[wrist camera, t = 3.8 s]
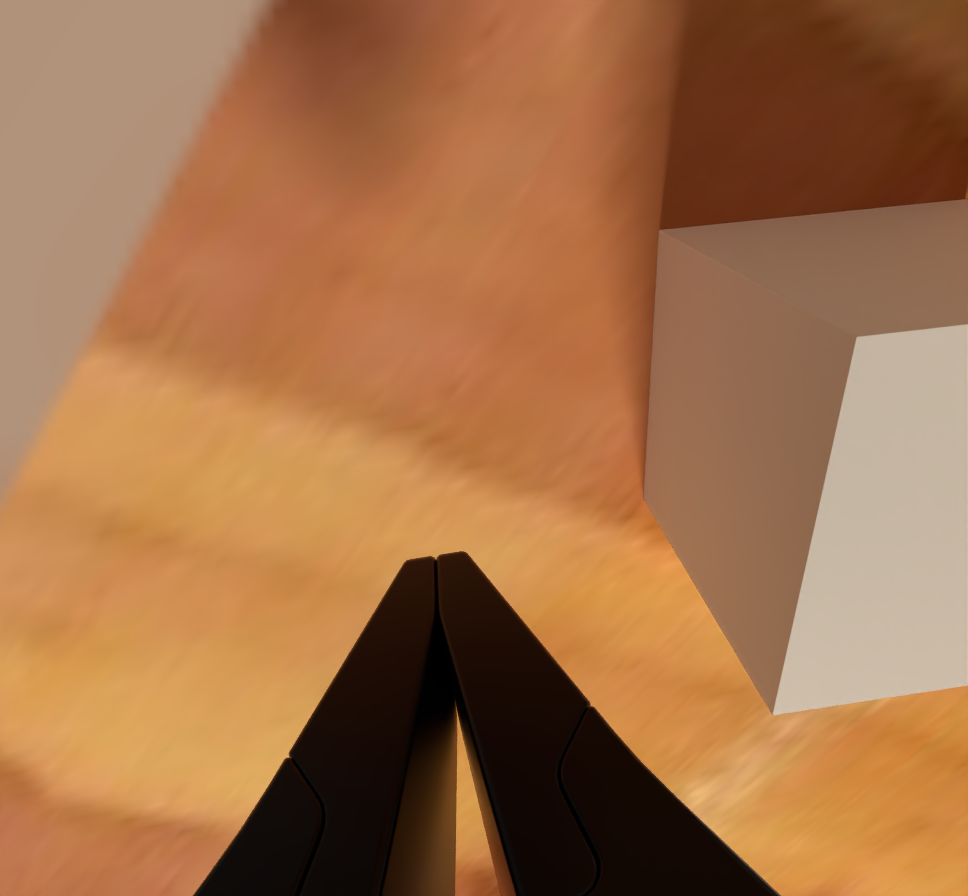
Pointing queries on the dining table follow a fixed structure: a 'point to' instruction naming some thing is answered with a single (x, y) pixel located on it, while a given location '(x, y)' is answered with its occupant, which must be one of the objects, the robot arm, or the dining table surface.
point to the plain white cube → (819, 444)
